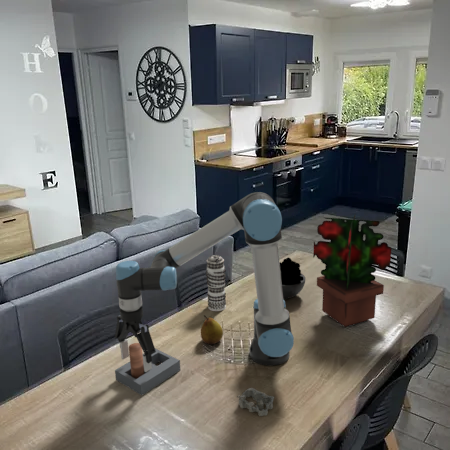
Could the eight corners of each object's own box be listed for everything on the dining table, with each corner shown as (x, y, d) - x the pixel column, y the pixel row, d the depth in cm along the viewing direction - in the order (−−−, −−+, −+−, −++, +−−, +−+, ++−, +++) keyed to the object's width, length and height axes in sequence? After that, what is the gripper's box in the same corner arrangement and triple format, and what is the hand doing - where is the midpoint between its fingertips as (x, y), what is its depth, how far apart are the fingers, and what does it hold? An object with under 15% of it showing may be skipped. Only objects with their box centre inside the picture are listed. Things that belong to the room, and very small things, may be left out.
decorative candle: (229, 303, 216) (228, 254, 208) (223, 312, 207) (221, 261, 200) (211, 301, 219) (209, 252, 211) (204, 310, 210) (202, 259, 203)
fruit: (226, 337, 186) (225, 311, 183) (216, 349, 179) (215, 321, 175) (207, 333, 190) (206, 307, 187) (197, 344, 182) (195, 317, 179)
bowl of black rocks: (311, 293, 224) (312, 257, 219) (294, 309, 208) (295, 271, 203) (274, 284, 235) (275, 250, 229) (256, 300, 219) (255, 263, 213)
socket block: (180, 370, 166) (179, 360, 165) (141, 395, 152) (140, 385, 151) (154, 356, 174) (153, 347, 173) (115, 379, 161) (114, 370, 160)
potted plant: (343, 335, 185) (348, 230, 172) (311, 313, 204) (314, 216, 192) (385, 323, 193) (393, 222, 181) (351, 302, 213) (356, 209, 200)
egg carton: (235, 406, 146) (235, 395, 145) (248, 394, 152) (248, 383, 151) (263, 419, 140) (263, 408, 139) (276, 406, 146) (276, 395, 145)
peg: (147, 380, 160) (144, 345, 156) (137, 387, 157) (134, 351, 153) (139, 376, 163) (136, 341, 159) (129, 382, 160) (126, 347, 156)
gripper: (100, 301, 156) (106, 356, 163) (145, 321, 142) (151, 381, 148) (117, 293, 162) (123, 347, 168) (163, 312, 147) (168, 370, 153)
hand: (136, 363), depth 158 cm, fingers open, 11 cm apart
